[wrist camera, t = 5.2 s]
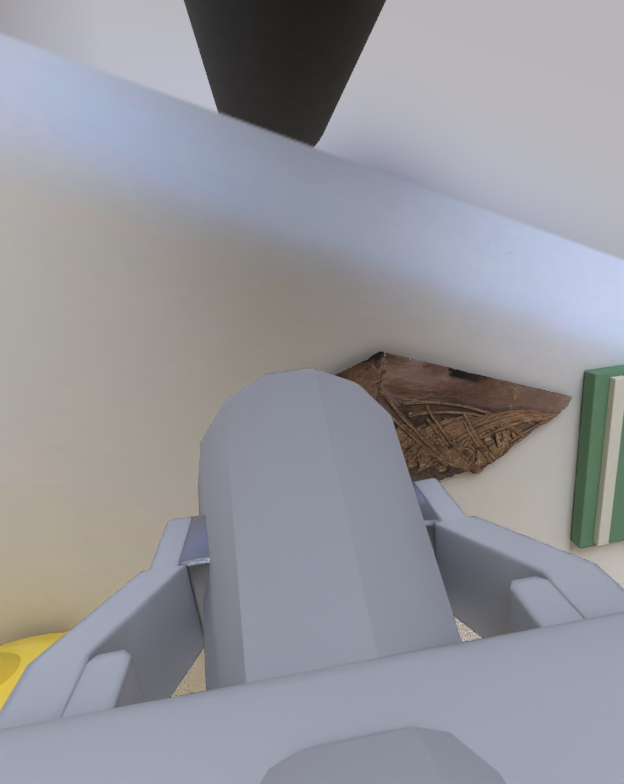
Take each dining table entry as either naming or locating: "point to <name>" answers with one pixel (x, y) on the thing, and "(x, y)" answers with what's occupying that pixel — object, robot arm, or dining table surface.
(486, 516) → the dining table surface
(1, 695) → the teapot
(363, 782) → the salt shaker
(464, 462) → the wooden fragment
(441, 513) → the robot arm
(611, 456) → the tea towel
